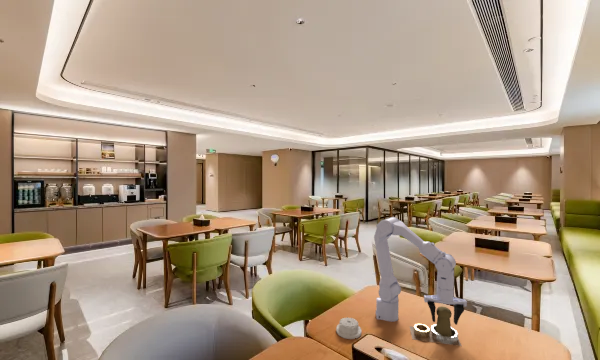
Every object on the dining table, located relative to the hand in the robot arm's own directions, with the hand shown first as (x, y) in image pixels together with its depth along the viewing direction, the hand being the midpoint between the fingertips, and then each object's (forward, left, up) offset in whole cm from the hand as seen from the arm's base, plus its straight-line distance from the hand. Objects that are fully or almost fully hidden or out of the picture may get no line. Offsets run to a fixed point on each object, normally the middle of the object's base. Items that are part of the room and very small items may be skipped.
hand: (444, 321), depth 110 cm
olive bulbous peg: (0, 0, -6) cm, 6 cm away
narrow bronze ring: (-8, 0, -6) cm, 10 cm away
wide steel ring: (0, 0, -6) cm, 6 cm away
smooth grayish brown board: (-3, 0, -7) cm, 8 cm away
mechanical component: (-36, -4, -7) cm, 37 cm away
